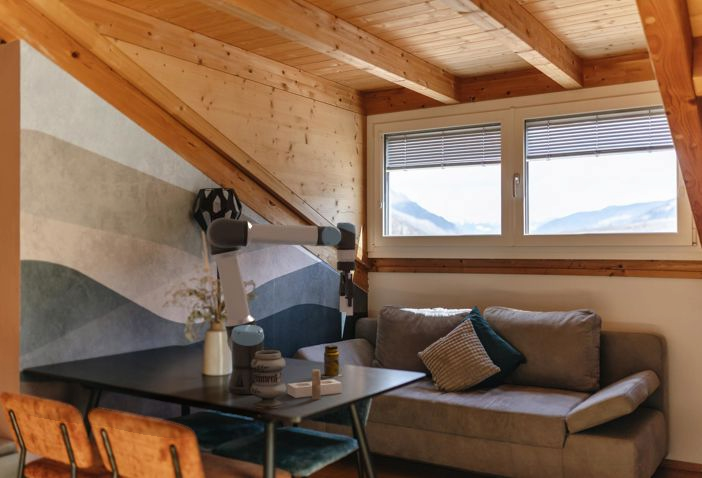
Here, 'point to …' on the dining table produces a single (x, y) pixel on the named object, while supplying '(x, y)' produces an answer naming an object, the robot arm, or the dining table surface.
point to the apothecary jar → (268, 378)
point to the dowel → (316, 384)
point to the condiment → (331, 362)
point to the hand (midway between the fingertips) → (346, 313)
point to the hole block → (306, 388)
